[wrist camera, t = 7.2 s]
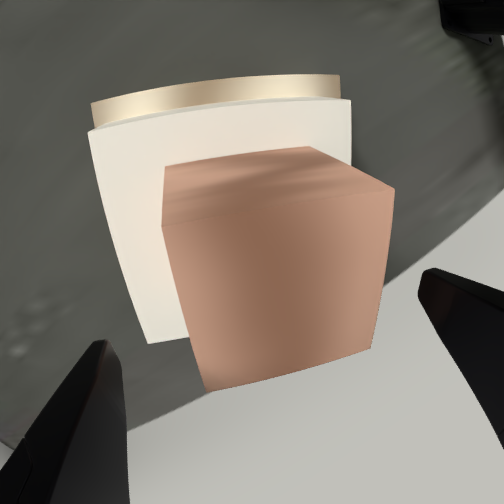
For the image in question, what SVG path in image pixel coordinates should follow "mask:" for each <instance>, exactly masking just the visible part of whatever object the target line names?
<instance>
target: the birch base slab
mask: <svg viewBox="0 0 504 504" xmlns="http://www.w3.org/2000/svg"><path fill="white" fill-rule="evenodd" d="M301 96H319V97H328V98H337V99H341V96H340V75H269V76H252V77H239V78H228V79H218V80H209V81H201V82H194V83H187V84H180V85H174V86H168V87H162V88H156V89H151V90H146V91H141V92H136V93H131V94H127V95H122V96H118V97H114V98H110V99H106V100H102V101H98V102H94V103H91V107H92V114H93V120H94V126H95V128H97V127H99V126H101V125H103V124H105V123H108V122H112V121H117V120H121V119H125V118H130V117H135V116H140V115H145V114H150V113H155V112H160V111H166V110H172V109H178V108H184V107H191V106H198V105H205V104H213V103H221V102H230V101H240V100H251V99H263V98H279V97H301Z"/></svg>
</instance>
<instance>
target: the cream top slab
mask: <svg viewBox="0 0 504 504" xmlns="http://www.w3.org/2000/svg"><path fill="white" fill-rule="evenodd" d="M88 137H89V143H90V148H91V153H92V158H93V163H94V167H95V172H96V176H97V181H98V185H99V190H100V194H101V198H102V202H103V206H104V210H105V214H106V217H107V221H108V225H109V229H110V232H111V236H112V239H113V243H114V246H115V249H116V253H117V256H118V259H119V263H120V266H121V269H122V272H123V275H124V278H125V281H126V284H127V287H128V290H129V293H130V296H131V299H132V302H133V305H134V308H135V310H136V313H137V316H138V319H139V321H140V324H141V327H142V329H143V332H144V335H145V337H146V340H147V342H148V344H150V343H156V342H162V341H168V340H174V339H180V338H185V337H189V334H188V330H187V327H186V323H185V320H184V316H183V313H182V309H181V305H180V302H179V298H178V294H177V290H176V286H175V282H174V279H173V275H172V271H171V267H170V262H169V258H168V254H167V250H166V246H165V241H164V237H163V233H162V228H161V221H162V201H163V185H164V171H165V166H169V165H175V164H180V163H186V162H191V161H197V160H203V159H209V158H215V157H222V156H229V155H236V154H243V153H250V152H258V151H266V150H275V149H283V148H293V147H303V146H310V147H312V148H315V149H317V150H319V151H321V152H323V153H325V154H327V155H330V156H332V157H334V158H336V159H338V160H340V161H342V162H344V163H346V164H348V165H350V166H351V100H345V99H337V98H328V97H319V96H301V97H279V98H263V99H251V100H240V101H230V102H221V103H213V104H205V105H198V106H191V107H184V108H178V109H172V110H166V111H160V112H155V113H150V114H145V115H140V116H135V117H130V118H125V119H121V120H117V121H112V122H108V123H105V124H103V125H101V126H99V127H97V128H95V129H93V130H91V131H89V132H88Z"/></svg>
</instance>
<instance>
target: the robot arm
mask: <svg viewBox="0 0 504 504" xmlns="http://www.w3.org/2000/svg"><path fill="white" fill-rule="evenodd" d="M439 3H440V12H441V21H442V25H443V27H444V28H445V29H447V30H450V31H453V32H456V33H458V34H461V35H464V36H466V37H469V38H472V39H474V40H477V41H479V42H482V43H484V44H486V45H493V35H504V0H439ZM447 22H448V23H447ZM418 299H419V301H420V303H421V304H422V306H423V308H424V310H425V312H426V314H427V315H428V317H429V319H430V321H431V323H432V325H433V326H434V328H435V330H436V332H437V334H438V336H439V337H440V339H441V340H442V342H443V344H444V345H445V347H446V348H447V350H448V352H449V353H450V355H451V356H452V358H453V359H454V361H455V363H456V364H457V366H458V368H459V369H460V371H461V372H462V374H463V376H464V377H465V379H466V381H467V382H468V384H469V386H470V387H471V389H472V391H473V393H474V394H475V396H476V398H477V400H478V401H479V403H480V405H481V407H482V408H483V410H484V412H485V414H486V416H487V417H488V419H489V421H490V423H491V425H492V427H493V429H494V431H495V433H496V435H497V437H498V439H499V441H500V443H501V445H502V447H503V449H504V292H503V291H500V290H498V289H495V288H492V287H489V286H487V285H484V284H481V283H478V282H475V281H473V280H470V279H467V278H464V277H461V276H458V275H455V274H452V273H449V272H446V271H444V270H441V269H438V268H431V269H428V270H425V271H424V272H423V273H422V277H421V281H420V285H419V289H418ZM127 466H128V464H127V422H126V410H125V401H124V391H123V379H122V368H121V364H120V361H119V359H118V357H117V355H116V352H115V350H114V348H113V346H112V344H111V342H110V341H109V340H107V339H104V340H97V341H94V342H93V343H92V344H91V345H90V346H89V348H88V349H87V350H86V351H85V353H84V354H83V355H82V357H81V358H80V359H79V361H78V362H77V363H76V364H75V366H74V367H73V368H72V370H71V371H70V372H69V374H68V375H67V376H66V378H65V379H64V380H63V382H62V383H61V385H60V386H59V387H58V389H57V390H56V391H55V393H54V394H53V396H52V397H51V398H50V400H49V401H48V402H47V404H46V405H45V407H44V408H43V409H42V411H41V412H40V414H39V415H38V417H37V418H36V419H35V421H34V422H33V424H32V425H31V427H30V428H29V430H28V431H27V433H26V434H25V436H24V438H22V440H21V441H20V443H19V444H18V446H17V447H16V449H15V450H14V452H13V453H12V455H11V456H10V458H9V459H8V461H7V462H6V463H5V465H4V466H3V467H2V469H1V470H0V504H130V498H129V484H128V467H127Z"/></svg>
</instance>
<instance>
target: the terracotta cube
mask: <svg viewBox="0 0 504 504" xmlns="http://www.w3.org/2000/svg"><path fill="white" fill-rule="evenodd" d="M394 195H395V189H394V188H392V187H390V186H388V185H386V184H385V183H383V182H381V181H379V180H377V179H375V178H373V177H371V176H370V175H368V174H366V173H364V172H362V171H360V170H358V169H356V168H354V167H352V166H350V165H348V164H346V163H344V162H342V161H340V160H338V159H336V158H334V157H332V156H330V155H327V154H325V153H323V152H321V151H319V150H317V149H315V148H312V147H310V146H303V147H293V148H283V149H275V150H266V151H258V152H250V153H243V154H236V155H229V156H222V157H215V158H209V159H203V160H197V161H191V162H186V163H180V164H175V165H169V166H165V171H164V185H163V201H162V221H161V228H162V233H163V237H164V241H165V246H166V250H167V254H168V258H169V262H170V267H171V271H172V275H173V279H174V282H175V286H176V290H177V294H178V298H179V302H180V305H181V309H182V313H183V316H184V320H185V323H186V327H187V330H188V334H189V337H190V341H191V344H192V347H193V351H194V354H195V357H196V361H197V364H198V367H199V370H200V374H201V377H202V380H203V383H204V386H205V389H206V392H212V391H217V390H222V389H227V388H232V387H236V386H241V385H245V384H250V383H254V382H258V381H262V380H266V379H270V378H274V377H278V376H282V375H286V374H289V373H293V372H296V371H300V370H304V369H307V368H310V367H314V366H318V365H321V364H324V363H327V362H331V361H334V360H337V359H340V358H343V357H346V356H349V355H352V354H355V353H358V352H361V351H364V350H367V349H370V347H371V343H372V339H373V334H374V329H375V325H376V320H377V315H378V310H379V305H380V299H381V294H382V288H383V282H384V276H385V270H386V263H387V257H388V249H389V242H390V234H391V225H392V216H393V206H394Z"/></svg>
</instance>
